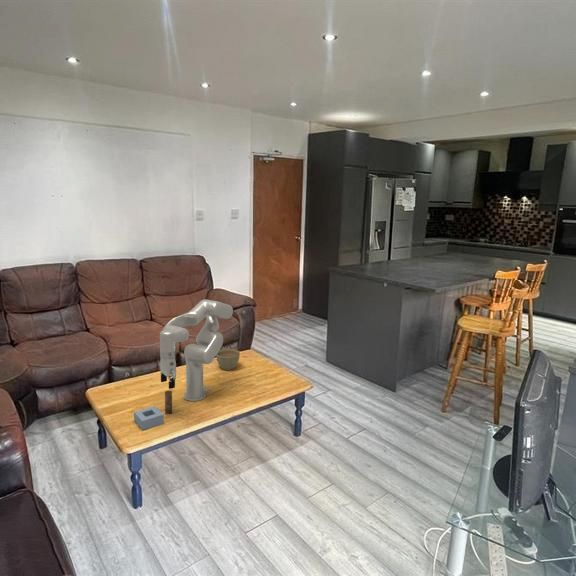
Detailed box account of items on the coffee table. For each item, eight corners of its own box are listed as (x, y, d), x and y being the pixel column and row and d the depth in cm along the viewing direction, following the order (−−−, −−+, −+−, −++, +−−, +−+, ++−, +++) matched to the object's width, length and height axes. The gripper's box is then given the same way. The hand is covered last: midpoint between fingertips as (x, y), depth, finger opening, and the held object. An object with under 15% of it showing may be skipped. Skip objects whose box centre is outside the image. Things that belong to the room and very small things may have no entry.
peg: (170, 410, 222) (170, 389, 219) (173, 413, 219) (173, 392, 217) (164, 412, 220) (163, 391, 217) (167, 415, 217) (166, 394, 215)
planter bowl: (210, 367, 281) (210, 352, 278) (228, 361, 293) (228, 346, 291) (226, 374, 271) (226, 359, 268) (244, 367, 283) (244, 352, 281)
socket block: (155, 414, 217) (154, 405, 216) (163, 423, 209) (163, 414, 208) (134, 420, 210) (133, 411, 209) (142, 430, 202) (142, 421, 201)
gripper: (182, 357, 209) (181, 389, 212) (167, 347, 221) (167, 377, 225) (167, 360, 204) (168, 392, 207) (153, 350, 217) (154, 380, 220)
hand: (167, 384), depth 216 cm, fingers open, 9 cm apart
